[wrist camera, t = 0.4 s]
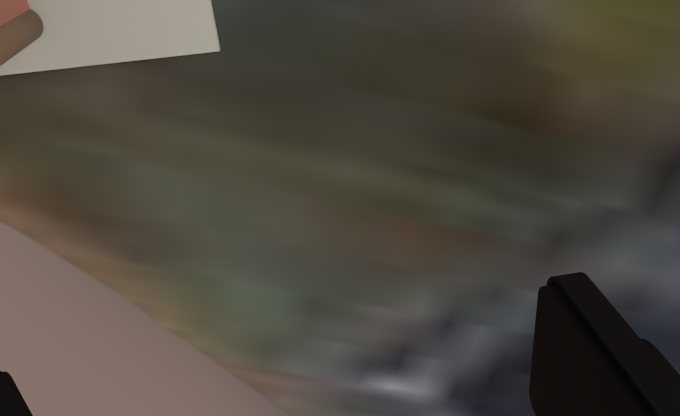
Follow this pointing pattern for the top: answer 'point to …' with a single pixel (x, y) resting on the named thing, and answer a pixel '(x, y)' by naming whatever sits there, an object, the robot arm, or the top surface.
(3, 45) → the fence panel
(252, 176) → the top surface
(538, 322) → the robot arm
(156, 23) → the card
